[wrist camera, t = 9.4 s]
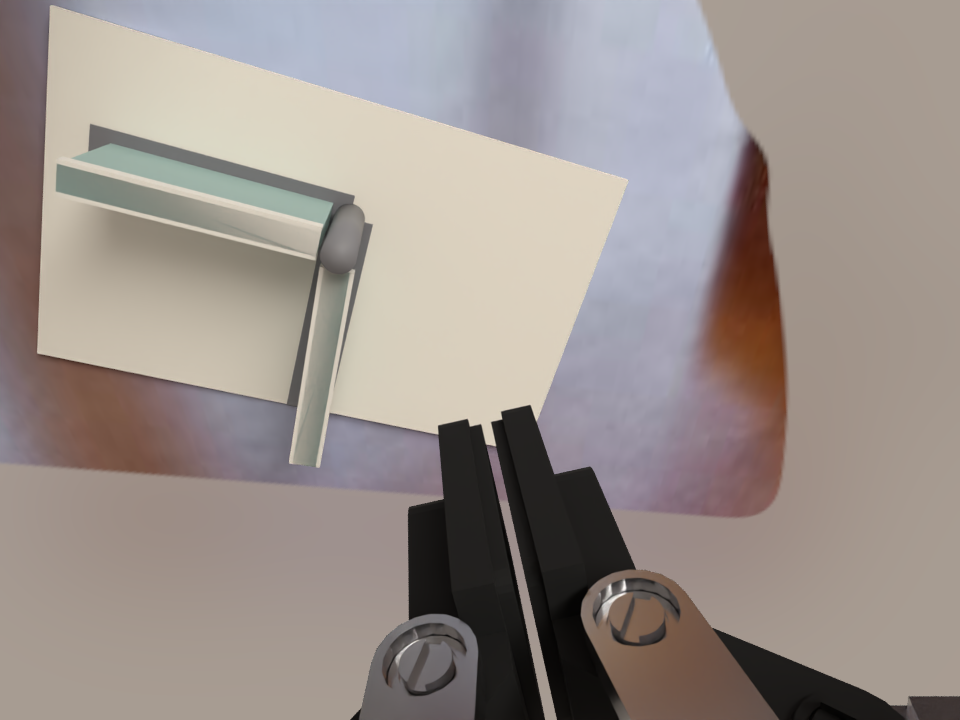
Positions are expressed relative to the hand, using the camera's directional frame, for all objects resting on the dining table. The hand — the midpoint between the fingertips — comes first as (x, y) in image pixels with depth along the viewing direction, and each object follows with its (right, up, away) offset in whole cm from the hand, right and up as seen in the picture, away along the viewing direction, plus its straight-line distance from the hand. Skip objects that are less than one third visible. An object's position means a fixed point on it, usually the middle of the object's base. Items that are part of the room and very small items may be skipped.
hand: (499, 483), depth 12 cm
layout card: (-9, +7, +26) cm, 28 cm away
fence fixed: (-13, +11, +23) cm, 29 cm away
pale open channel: (-9, +4, +26) cm, 28 cm away
